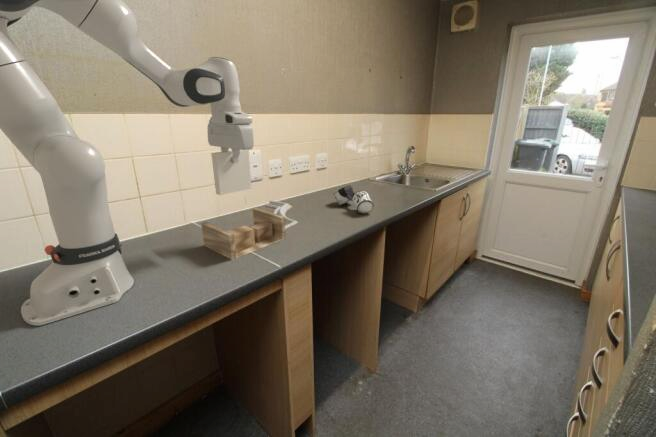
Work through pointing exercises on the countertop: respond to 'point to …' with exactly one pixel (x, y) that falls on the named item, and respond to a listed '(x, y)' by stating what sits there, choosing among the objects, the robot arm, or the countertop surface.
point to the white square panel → (231, 172)
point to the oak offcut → (243, 238)
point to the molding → (282, 211)
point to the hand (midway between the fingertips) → (231, 162)
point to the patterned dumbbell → (355, 199)
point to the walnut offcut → (262, 231)
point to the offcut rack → (225, 240)
